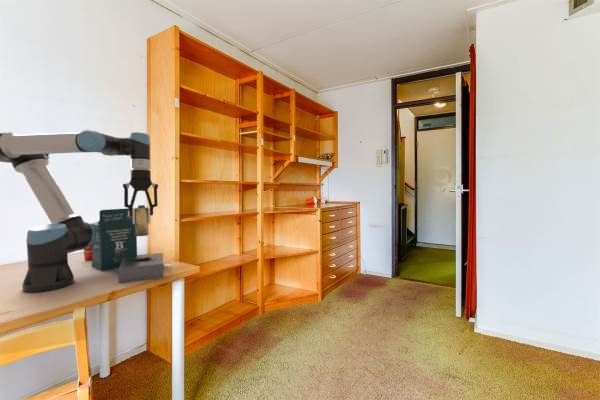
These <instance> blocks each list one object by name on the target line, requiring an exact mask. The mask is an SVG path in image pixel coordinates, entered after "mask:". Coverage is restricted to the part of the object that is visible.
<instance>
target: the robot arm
mask: <svg viewBox="0 0 600 400" xmlns="http://www.w3.org/2000/svg"><path fill="white" fill-rule="evenodd" d="M150 139H151V138H150V136H149V134H148V133H144V132H136V131H135V132H130V133H129V137H116V136H112V135H107V134H105V133H101V132H98V131H96V130H89V129H88V130H87V129H86V130H82V131H81V132H64V133H63V132H61V133H60V132H59V133H57V132H56V133H55V132H54V133H34V134H33V133H31V134H28V133H27V134H17V133H15V132H11V131H4V132H0V163H8V164H11V166H12V168H13V169H14V172H17V173H20V174H22V175H23V177H24V179H25V180H26V182H27V184H28V186H29V187H30V189H31V191H32V192H33V194H34V196H35V197H36V199H37V201H38V203H39V204H40V207H41V208H42V209H43V211H44V213H45V215H46V216H47V218H48V220H49V221H50V223H47V224H41V225H38V226H33V227H31V228H30V229H28V231H27V233H26V251H27V253H26V255H27V268H28V269H27V271H26V274H25V276H24V280H23V282H22V291H23V292H26V293H41V292H49V291H53V290H54V291H55V290H58V289H61V288H62V289H63V288H65V287H68V286H70V285H72V284H73V283H75V276H74V274H73V271H72V269H71V267H70V265H69V262H68V261H69V258H68V256H69V255H68V254H71V253H74V252H77V251H82V250H83V249H84V248H87V247H89V246H90V245H91V244H92V243H93V242H94V240H95V238H96V231H95V228H94V227H93V226H92V225H91V223H89V222H86V221H84V219H83V217H82V216H81V215H79V214H75V212H74V210H73V208H72V206H71V205H70V203H69V202H68V199H66V196H65V195H64V193H63V192H62V190H61V188H60V185H59V184H58V183H57V181H56V179H55V177H54V176H53V175H52V173H51V171H50V169H49V167H48V165H49V164H50V161H49V159H50V154H72V153H73V154H74V153H77V154H78V153H100V154H102V155H104V156H110V157H112V156H113V157H114V156H128V157H129V159H130V164H129V165H130V169H131V170H130V180H129V182H127V183H123V184H122V187H123V190H124V191H123V193H124V196H123V198H124V201H123V204H124V207H125V208H126V209H127V208H129V212H130V216H133V224H135V208H136V207H134V204H135V200H136V198H137V194H138V192H141V191H142V192H145V197H146V198H147V199H146V200H147V202H148V205H149V207H148V223H149V224H151V216H153V215H154V208H155V207H158V187H159V184H158V183H153V182H152V180H151V179H152V177H151V173H152V172H151V170H150V169H151V141H150ZM130 186H131V187H132V188H133V193H132V196H131V200H130V204H129V189H130ZM151 186H152V189H153V202H152V199H151V195H150V193H149V188H150V187H151ZM153 203H154V204H153ZM83 251H84V250H83Z"/></svg>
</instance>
